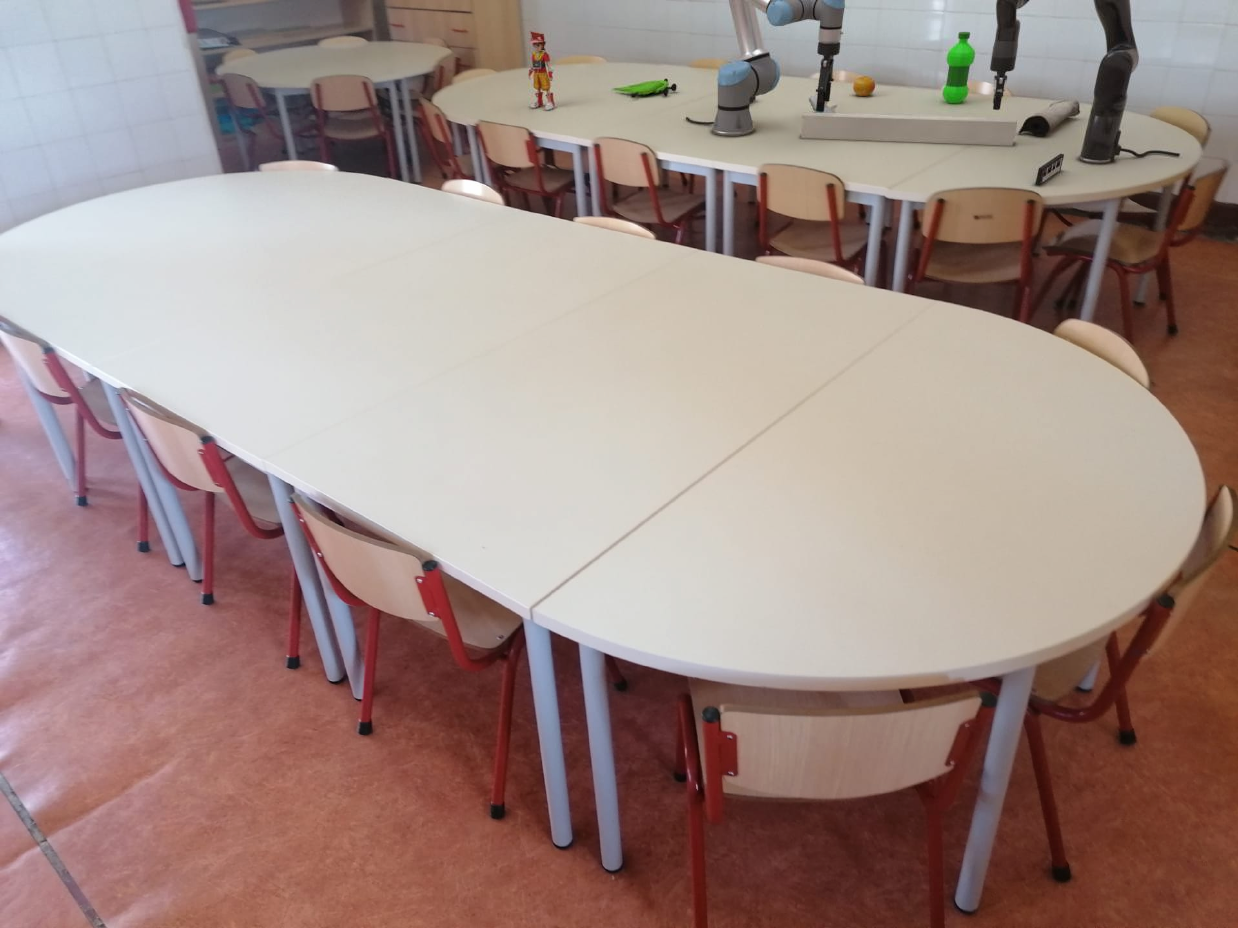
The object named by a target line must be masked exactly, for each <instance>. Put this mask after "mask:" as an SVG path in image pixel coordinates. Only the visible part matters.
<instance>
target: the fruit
mask: <svg viewBox="0 0 1238 928" xmlns="http://www.w3.org/2000/svg"><path fill="white" fill-rule="evenodd" d="M852 87H853V92H854V93H855V94H856V95H857V96H859V97H866V96H870V95H871V94H872V93H873V92H874V91H875V88H876V82H875V80H874V79H873V78H871V77H870V76H861V77H858V78H856V80H855V81H854V83H853V86H852Z"/></svg>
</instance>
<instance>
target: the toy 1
mask: <svg viewBox="0 0 1238 928" xmlns="http://www.w3.org/2000/svg"><path fill="white" fill-rule="evenodd" d="M529 33H530V35H531V36H528V37H527V38H528V39H529V40H528V41H527V43H529V44H530V43H531V44H532V48H533V50H534V51H533V52H532V55H531V58H530V59H531V63H530V66H528V74H527V75H528V76H527V77H528V79H529V80H531V75H532V74H533V84H532V85H533V86H532V87H533V88H534V89H535V90H536V92H534V95H535V97H536V100H535V101H533V102H531V105H530V108H531V109H535V108H538V107H542V106H544V101H543V100H544V99H543V95H544V92H546V94H545V97H546V99H547V103H546V104H545V106H544V110H546V111H549V110H553V109H554V107H555V106H556V105H555V99H554V92H551V91H550V90H551V86H552V84H551V82H552V81H553V80H554V77H553V73H554V71H555V70H554V69H552V68H551V63H550V61H551V59H550V58H551V57H550V54H549V53H548V52H547V50H546V48H545V46H546V44H547V41H545V35H544V33H543V32H542V33H539V32H535V31H529Z"/></svg>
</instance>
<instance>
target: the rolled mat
mask: <svg viewBox="0 0 1238 928" xmlns="http://www.w3.org/2000/svg"><path fill="white" fill-rule="evenodd" d="M1080 113H1081V110H1080V102H1079V101H1078V100H1071V99H1069V100H1068V99H1067V100H1060V101H1055V102H1052V103H1050V105H1049V106H1048V107H1046V108H1043V109H1042V110H1040V111H1038V112H1036V113H1034V114H1032V115H1030V116H1028V117H1027V118H1026V119H1025V120H1024V122H1023V124H1022V126H1021V128H1020V129H1019V131H1018V134H1019V135H1020V134H1023V133H1030V134H1031V135H1033V136H1037V137H1045V136H1048V135H1049V134H1050V132H1051V131H1053V129H1055V127H1056V126H1057V125H1059V124H1060V123H1061V122H1063V121H1064V120H1065V119H1066V118H1071V117H1076V116H1078V115H1080Z"/></svg>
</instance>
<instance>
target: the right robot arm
mask: <svg viewBox="0 0 1238 928" xmlns="http://www.w3.org/2000/svg"><path fill="white" fill-rule="evenodd" d="M1030 1H1031V0H996V4H995V15H996V17H995V18H996V29H995V37H994V42H993V46H992V50H991V51H992V52H991V58H990V66H989V70H990V71H991V72H995V73H996V75H995V74H994V76H993V92H994V93H993V98H992V99H993V100H992V104H993V106H992V110H993V111H994V110H995V111H999V110H1001V105H1002V98H1003V97H1004V92H1005V90H1006V84H1007V82H1008V75H1007V74H1006V73H1007V72H1012V71H1014V70H1015V69H1016V68H1015V67H1016V61H1017V54H1018V48H1019V38H1020V31H1021V21H1020V20H1019V19H1018V18H1017V12H1018V11H1017V10H1020V9H1021V8H1023V7H1024V6H1026V5H1027V4H1028V3H1029V2H1030ZM1093 5H1094V9H1095V12H1096V16H1097V17H1098V19H1099V22H1100V23H1101V26H1102V28H1103V31H1104V35H1105V45H1106V47H1105V48H1106V53H1105V55H1104V56H1103V57H1102V59H1101V61H1100V62H1099V66H1098V70H1097V74H1096V78H1095V84H1094V89H1093V100H1092V103H1091V108H1090V113H1089V117H1088V121H1087V125H1086V130H1085V134H1084V137H1083V142H1082V145H1081V151H1080V154H1079V156H1078V157H1079V158H1078V159H1079V160H1080V161H1082V162H1084V163H1088V164H1097V165H1100V164H1108V163H1114V161H1115V158H1116V157H1117V156H1118V157H1119V156H1120V155H1121V152H1124V153H1129V154H1130V155H1133V156H1134V157H1137V158H1142V157H1145V156H1147V155H1150V154H1158V155H1159V154H1160V155H1167V156H1173V157H1180V155H1181V153H1179V152H1172V151H1166V150H1157V149H1155V150H1154V149H1153V150H1152V149H1151V150H1147V151H1145V152H1143V153H1138V152H1136V151H1134V150H1132V149H1129V148H1125V147H1122V145H1120V144H1119V142H1120V138H1121V134H1122V130H1120V128H1121V125H1122V121H1123V116H1124V112H1125V109H1126V104H1127V102H1128V98H1129V97H1128V95H1129V94H1128V88H1129V85H1130V81H1131V77H1132V76H1131V75H1132V74H1133V73H1134V72H1135V70H1137V67H1138V65H1139V62H1140V55H1139V50H1138V46H1137V42H1136V38H1135V35H1134V34H1135V33H1134V29H1133V24H1132V9H1131V0H1093Z"/></svg>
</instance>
